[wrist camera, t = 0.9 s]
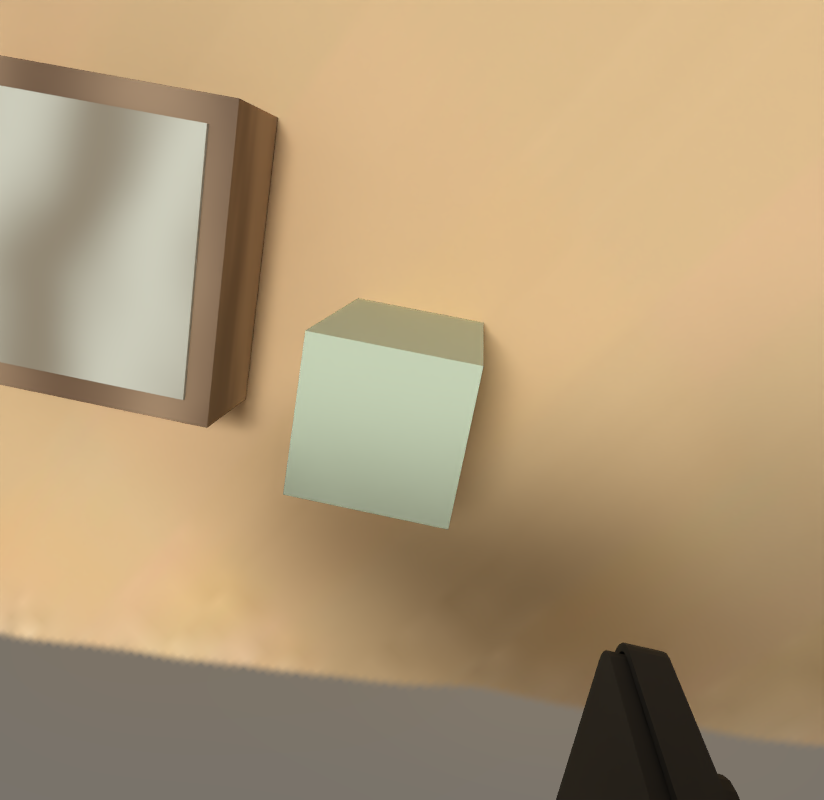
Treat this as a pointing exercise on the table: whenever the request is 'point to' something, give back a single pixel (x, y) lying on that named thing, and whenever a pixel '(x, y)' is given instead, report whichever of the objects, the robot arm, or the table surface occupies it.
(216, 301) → the base block
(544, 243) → the table surface
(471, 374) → the green block
